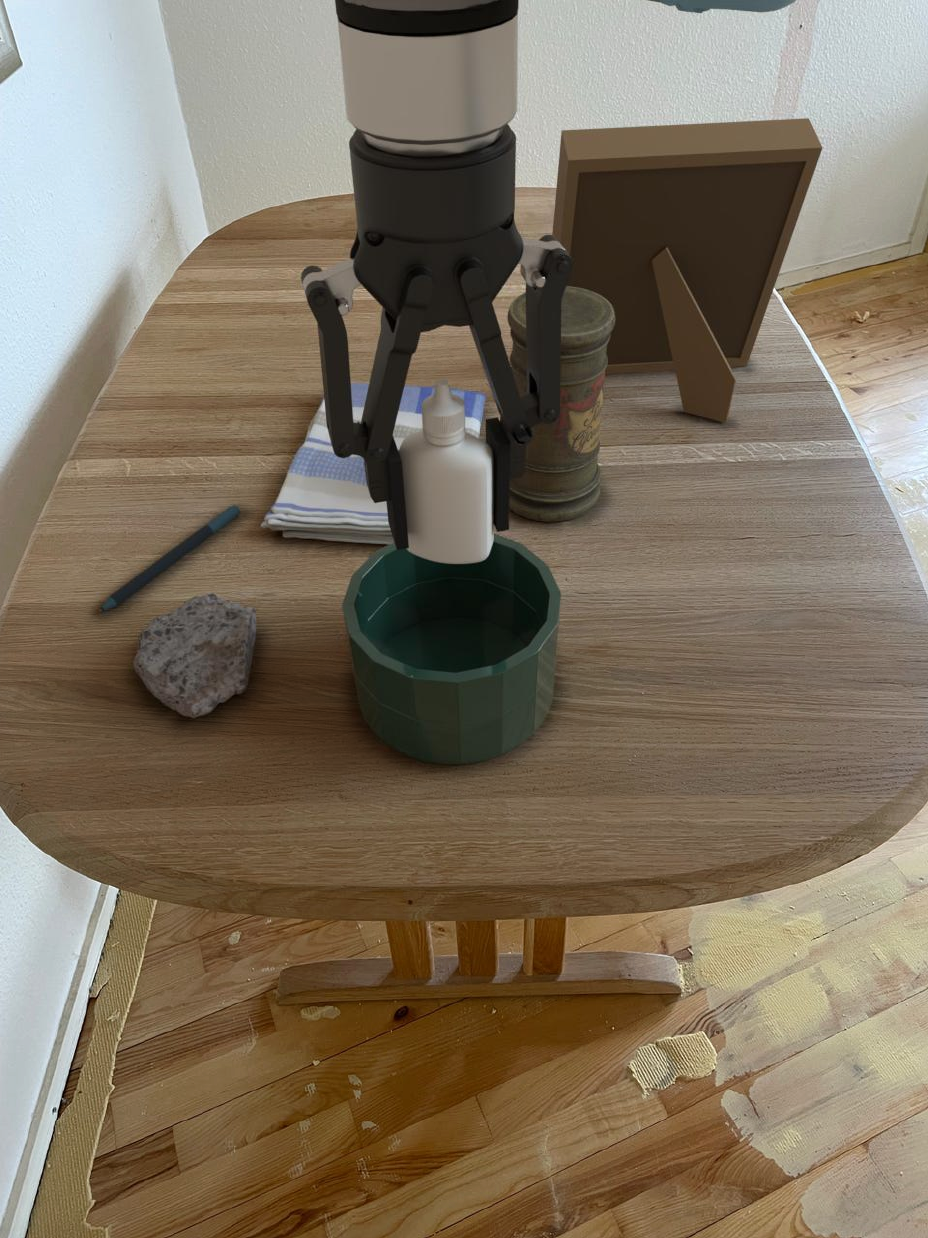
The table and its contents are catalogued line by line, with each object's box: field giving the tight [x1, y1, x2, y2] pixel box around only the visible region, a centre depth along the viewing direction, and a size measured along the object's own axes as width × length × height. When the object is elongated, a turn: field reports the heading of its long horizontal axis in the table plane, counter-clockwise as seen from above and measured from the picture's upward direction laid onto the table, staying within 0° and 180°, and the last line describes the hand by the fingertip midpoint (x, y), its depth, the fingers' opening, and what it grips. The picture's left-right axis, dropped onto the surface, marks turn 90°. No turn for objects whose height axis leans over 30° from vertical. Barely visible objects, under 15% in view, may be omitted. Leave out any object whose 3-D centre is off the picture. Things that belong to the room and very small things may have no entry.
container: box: [506, 286, 615, 523], centre depth 77 cm, size 9×9×18 cm
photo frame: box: [551, 117, 824, 423], centre depth 87 cm, size 15×22×25 cm
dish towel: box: [260, 382, 487, 545], centre depth 86 cm, size 17×24×3 cm
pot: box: [341, 533, 562, 766], centre depth 65 cm, size 15×15×9 cm
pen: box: [99, 505, 241, 612], centre depth 78 cm, size 1×16×1 cm, turn 146°
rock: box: [133, 593, 258, 719], centre depth 68 cm, size 9×11×4 cm
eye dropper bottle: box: [398, 378, 495, 564], centre depth 54 cm, size 4×6×12 cm
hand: (448, 525), depth 57 cm, fingers closed on eye dropper bottle, 6 cm apart
